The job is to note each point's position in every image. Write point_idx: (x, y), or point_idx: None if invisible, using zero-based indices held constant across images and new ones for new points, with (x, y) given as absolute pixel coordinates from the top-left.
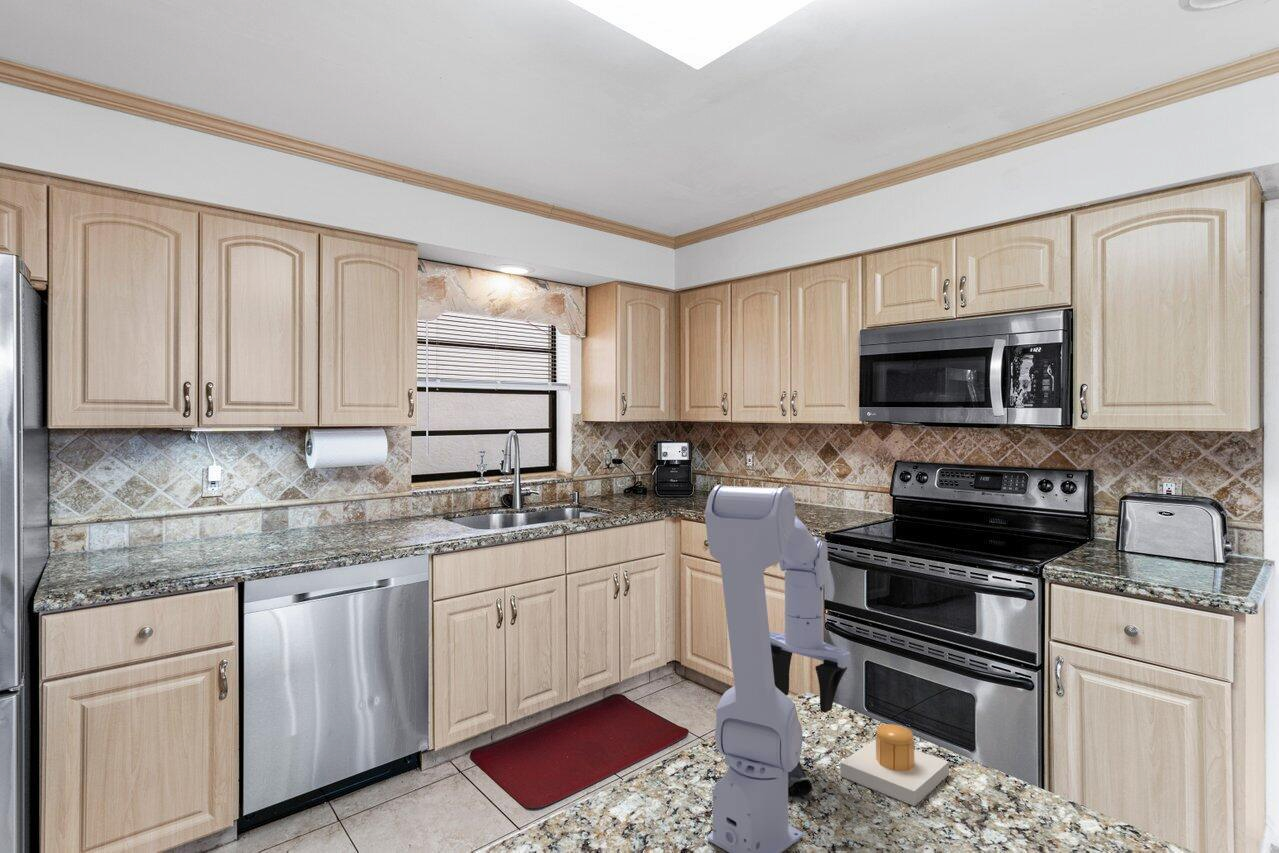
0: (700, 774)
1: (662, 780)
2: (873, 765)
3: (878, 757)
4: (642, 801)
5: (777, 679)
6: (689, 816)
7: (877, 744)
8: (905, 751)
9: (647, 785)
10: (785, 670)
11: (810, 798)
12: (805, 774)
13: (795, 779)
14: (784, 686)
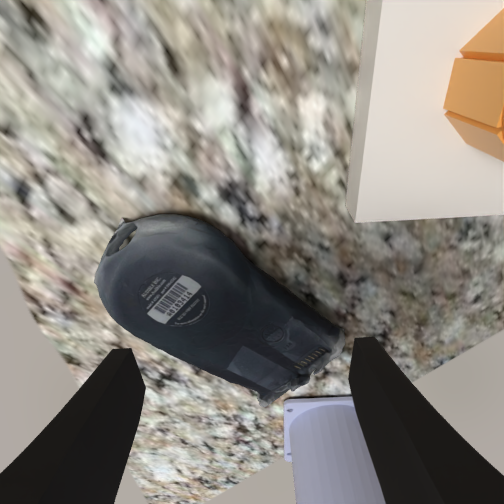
0: None
1: None
2: (447, 165)
3: (467, 137)
4: (163, 457)
5: (114, 493)
6: (231, 443)
7: (487, 140)
8: None
9: None
10: (75, 495)
11: (336, 318)
12: (302, 302)
13: (322, 367)
14: (123, 412)
